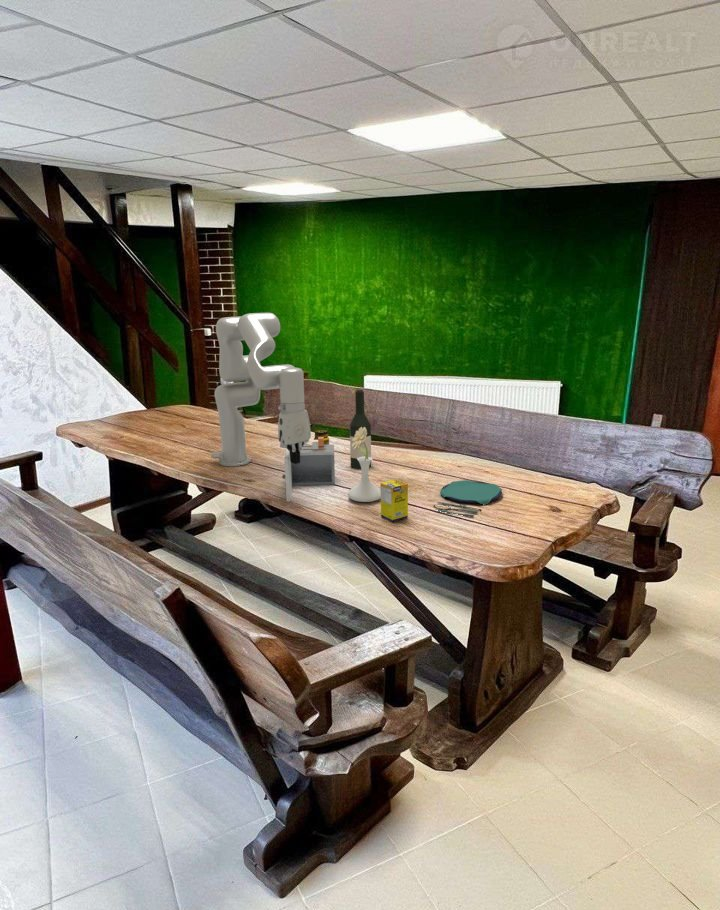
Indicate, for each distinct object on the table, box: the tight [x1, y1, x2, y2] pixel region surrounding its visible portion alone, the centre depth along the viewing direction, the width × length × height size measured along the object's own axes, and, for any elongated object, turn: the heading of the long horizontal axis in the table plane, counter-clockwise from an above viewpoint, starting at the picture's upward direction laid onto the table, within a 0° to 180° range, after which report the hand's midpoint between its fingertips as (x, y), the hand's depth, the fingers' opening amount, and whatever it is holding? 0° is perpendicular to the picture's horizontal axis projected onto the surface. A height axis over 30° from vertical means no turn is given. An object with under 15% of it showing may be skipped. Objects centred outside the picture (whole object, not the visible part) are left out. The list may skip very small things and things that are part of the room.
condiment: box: [313, 429, 330, 445], centre depth 242 cm, size 7×8×12 cm
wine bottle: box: [349, 388, 372, 470], centre depth 230 cm, size 8×8×30 cm
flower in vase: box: [347, 427, 381, 503], centre depth 194 cm, size 13×11×25 cm
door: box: [282, 448, 293, 502], centre depth 203 cm, size 16×2×14 cm, turn 4°
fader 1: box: [311, 439, 318, 449], centre depth 213 cm, size 2×2×3 cm
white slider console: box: [291, 444, 336, 487], centre depth 216 cm, size 16×10×12 cm, turn 92°
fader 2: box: [318, 437, 324, 446], centre depth 217 cm, size 2×2×3 cm
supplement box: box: [380, 478, 409, 522], centre depth 181 cm, size 6×6×11 cm
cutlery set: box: [432, 479, 503, 518], centre depth 197 cm, size 20×30×2 cm, turn 149°
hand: (295, 462), depth 197 cm, fingers closed
